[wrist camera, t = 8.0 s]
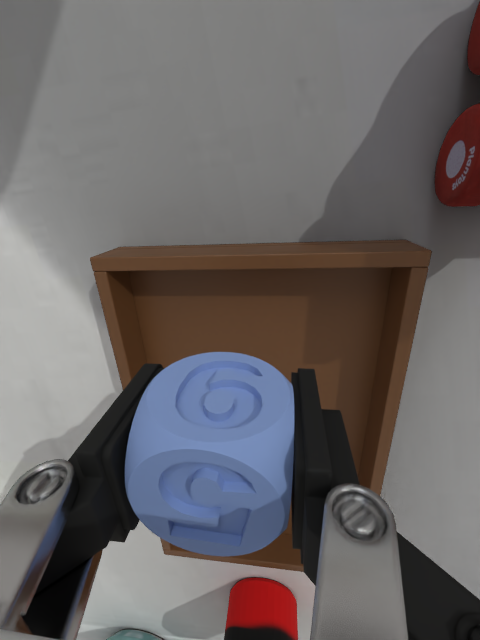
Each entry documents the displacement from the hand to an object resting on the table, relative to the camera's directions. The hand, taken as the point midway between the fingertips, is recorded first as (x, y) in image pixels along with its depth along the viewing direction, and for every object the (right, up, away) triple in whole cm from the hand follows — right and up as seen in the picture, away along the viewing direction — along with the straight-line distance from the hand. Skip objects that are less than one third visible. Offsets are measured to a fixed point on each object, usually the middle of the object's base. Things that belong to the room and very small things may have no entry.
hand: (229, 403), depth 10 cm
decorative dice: (0, 0, 0) cm, 1 cm away
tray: (+2, -5, +13) cm, 14 cm away
